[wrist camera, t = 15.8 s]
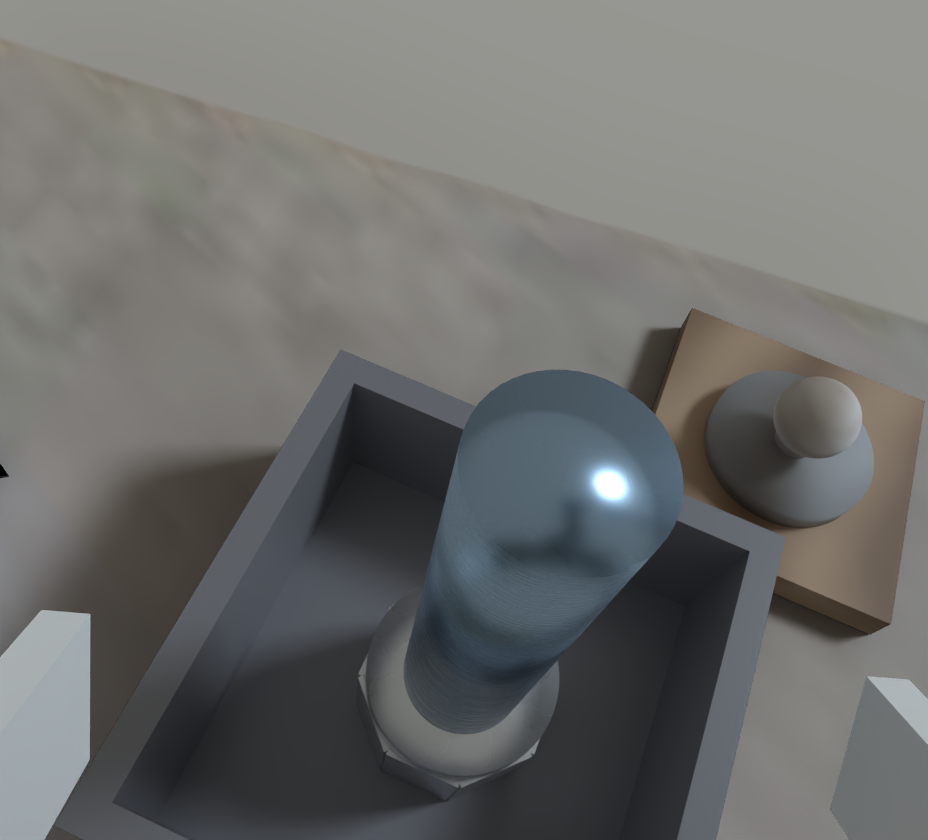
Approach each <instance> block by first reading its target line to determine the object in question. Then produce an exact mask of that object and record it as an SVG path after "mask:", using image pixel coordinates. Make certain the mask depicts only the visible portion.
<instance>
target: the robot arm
mask: <svg viewBox="0 0 928 840" xmlns="http://www.w3.org/2000/svg"><path fill="white" fill-rule="evenodd" d="M89 760H90V614H86V613H73V612H61V611H49V610H41V611H40V612H39V613H38V614H37V616H36V617H35V618H34V619H33V620H32V621H31V622H30V624H29V625H28V626H27V627H26V628H25V629H24V630H23V632H22V633H21V634H20V635H19V636H18V637H17V638H16V640H15V641H14V642H13V643H12V644H11V645H10V647H9V648H8V649H7V650H6V651H5V652H4V653H3V655H2V656H1V657H0V840H45V838H46V836H47V834H48V833H49V831H50V829H51V827H52V825H53V824H54V822H55V820H56V818H57V817H58V815H59V813H60V811H61V810H62V808H63V806H64V804H65V802H66V801H67V799H68V797H69V795H70V794H71V792H72V790H73V788H74V787H75V785H76V783H77V781H78V780H79V778H80V776H81V774H82V772H83V771H84V769H85V767H86V765H87V764H88V762H89ZM830 810H831V812H832V813H833V815H834V816H835V818H836V819H837V821H838V823H839V824H840V826H841V827H842V829H843V830H844V832H845V833H846V835H847V836H848V838H849V839H850V840H928V699H927V698H926V697H925V696H924V695H923V694H922V693H921V692H920V691H919V690H918V689H917V688H916V687H915V686H914V685H913V684H912V683H911V682H910V681H909V680H906V679H894V678H881V677H869V676H867V677H866V680H865V684H864V688H863V691H862V695H861V699H860V702H859V706H858V709H857V713H856V717H855V720H854V724H853V728H852V731H851V735H850V738H849V742H848V746H847V749H846V753H845V757H844V760H843V764H842V768H841V771H840V775H839V778H838V782H837V786H836V789H835V793H834V797H833V800H832V804H831V807H830Z"/></svg>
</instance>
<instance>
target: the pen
mask: <svg viewBox="0 0 928 840" xmlns="http://www.w3.org/2000/svg"><path fill="white" fill-rule="evenodd" d="M3 477H9V476H8V474H7V473H6V471H5V470H4V468H3V467H2V466H1V465H0V478H3Z"/></svg>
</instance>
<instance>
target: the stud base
mask: <svg viewBox="0 0 928 840" xmlns="http://www.w3.org/2000/svg"><path fill="white" fill-rule="evenodd" d="M924 403H925V401H923V400H920V399H918V398H915V397H913V396H910V395H908V394H905V393H903V392H900V391H898V390H895V389H893V388H890V387H888V386H885V385H883V384H881V383H878V382H876V381H873V380H871V379H868V378H866V377H863V376H861V375H858V374H856V373H853V372H851V371H848V370H846V369H843V368H841V367H838V366H836V365H833V364H831V363H828V362H826V361H823V360H821V359H818V358H816V357H813V356H811V355H808V354H806V353H803V352H801V351H798V350H796V349H793V348H791V347H788V346H786V345H783V344H781V343H778V342H776V341H773V340H771V339H768V338H766V337H763V336H761V335H758V334H756V333H753V332H751V331H748V330H746V329H743V328H741V327H738V326H736V325H733V324H731V323H728V322H726V321H723V320H721V319H719V318H716V317H714V316H711V315H709V314H706V313H704V312H701V311H699V310H696V309H694V308H692V309H691V311H690V313H689V314H688V316H687V318H686V320H685V321H684V323H683V325H682V326H681V329H680V332H679V335H678V337H677V340H676V343H675V346H674V349H673V352H672V355H671V357H670V360H669V363H668V366H667V369H666V372H665V375H664V377H663V380H662V383H661V386H660V389H659V392H658V395H657V397H656V400H655V403H654V406H653V409H652V412H653V413H654V414H655V415H656V416H657V418H658V419H659V420H660V421H661V422H662V424H663V425H664V427H665V429H666V430H667V432H668V433H669V435H670V437H671V439H672V441H673V443H674V445H675V447H676V450H677V453H678V456H679V459H680V463H681V468H682V472H683V486H684V487H683V494H684V495H687V496H689V497H692V498H694V499H696V500H699V501H701V502H703V503H706V504H708V505H710V506H713V507H715V508H718V509H720V510H722V511H725V512H727V513H729V514H732V515H734V516H737V517H739V518H741V519H744V520H746V521H748V522H751V523H753V524H756V525H758V526H760V527H763V528H765V529H767V530H770V531H772V532H774V533H777V534H779V535H782V536H784V537H786V538H785V543H784V547H783V551H782V556H781V560H780V564H779V569H778V573H777V577H776V581H775V586H774V590H773V593H774V594H777V595H779V596H781V597H784V598H786V599H788V600H791V601H793V602H795V603H798V604H800V605H802V606H805V607H807V608H809V609H812V610H814V611H816V612H819V613H821V614H823V615H826V616H828V617H830V618H833V619H835V620H837V621H840V622H842V623H844V624H847V625H849V626H851V627H854V628H856V629H858V630H861V631H863V632H865V633H868V634H872V633H874V632H876V631H878V630H880V629H882V628H884V627H886V626H888V625H890V624H891V620H892V613H893V607H894V600H895V594H896V587H897V580H898V574H899V567H900V561H901V554H902V548H903V541H904V535H905V528H906V521H907V515H908V508H909V502H910V495H911V489H912V482H913V476H914V469H915V462H916V456H917V449H918V443H919V436H920V430H921V423H922V417H923V410H924Z"/></svg>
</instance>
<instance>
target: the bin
mask: <svg viewBox="0 0 928 840" xmlns="http://www.w3.org/2000/svg"><path fill="white" fill-rule="evenodd" d="M475 408H476V406H473V405H471V404H469V403H466V402H464V401H462V400H459V399H457V398H454V397H452V396H450V395H447V394H445V393H443V392H440V391H438V390H435V389H433V388H431V387H428V386H426V385H424V384H421V383H419V382H417V381H414V380H412V379H409V378H407V377H405V376H402V375H400V374H398V373H395V372H393V371H390V370H388V369H386V368H383V367H381V366H379V365H376V364H374V363H371V362H369V361H367V360H364V359H362V358H360V357H357V356H355V355H353V354H350V353H348V352H345V351H343V350H340V351H339V353H338V355H337V356H336V358H335V360H334V361H333V363H332V365H331V366H330V368H329V370H328V371H327V373H326V375H325V376H324V378H323V380H322V381H321V383H320V385H319V386H318V388H317V389H316V391H315V393H314V394H313V396H312V398H311V399H310V401H309V403H308V404H307V406H306V408H305V409H304V411H303V413H302V414H301V416H300V418H299V419H298V421H297V423H296V424H295V426H294V428H293V429H292V431H291V433H290V434H289V436H288V438H287V439H286V441H285V443H284V444H283V446H282V448H281V449H280V451H279V452H278V454H277V456H276V457H275V459H274V461H273V462H272V464H271V466H270V467H269V469H268V471H267V472H266V474H265V476H264V477H263V479H262V481H261V482H260V484H259V486H258V487H257V489H256V491H255V492H254V494H253V496H252V497H251V499H250V501H249V502H248V504H247V506H246V507H245V509H244V510H243V512H242V514H241V515H240V517H239V519H238V520H237V522H236V524H235V525H234V527H233V529H232V530H231V532H230V534H229V535H228V537H227V539H226V540H225V542H224V544H223V545H222V547H221V549H220V550H219V552H218V554H217V555H216V557H215V559H214V560H213V562H212V564H211V565H210V567H209V569H208V570H207V572H206V573H205V575H204V577H203V578H202V580H201V582H200V583H199V585H198V587H197V588H196V590H195V592H194V593H193V595H192V597H191V598H190V600H189V602H188V603H187V605H186V607H185V608H184V610H183V612H182V613H181V615H180V617H179V618H178V620H177V622H176V623H175V625H174V627H173V628H172V630H171V632H170V633H169V635H168V636H167V638H166V640H165V641H164V643H163V645H162V646H161V648H160V650H159V651H158V653H157V655H156V656H155V658H154V660H153V661H152V663H151V665H150V666H149V668H148V670H147V671H146V673H145V675H144V676H143V678H142V680H141V681H140V683H139V685H138V686H137V688H136V690H135V691H134V693H133V694H132V696H131V698H130V699H129V701H128V703H127V704H126V706H125V708H124V709H123V711H122V713H121V714H120V716H119V718H118V719H117V721H116V723H115V724H114V726H113V728H112V729H111V731H110V733H109V734H108V736H107V738H106V739H105V741H104V743H103V744H102V746H101V748H100V749H99V751H98V753H97V754H96V756H95V757H94V759H93V761H92V762H91V764H90V766H89V767H88V769H87V771H86V772H85V774H84V776H83V777H82V779H81V781H80V782H79V784H78V786H77V787H76V789H75V791H74V792H73V794H72V796H71V797H70V799H69V801H68V802H67V804H66V806H65V807H64V809H63V811H62V812H61V814H60V816H59V817H58V819H57V820H56V822H55V824H54V826H56V827H58V828H60V829H62V830H64V831H66V832H68V833H70V834H72V835H74V836H76V837H78V838H80V839H82V840H716V836H717V832H718V828H719V824H720V819H721V815H722V811H723V806H724V802H725V798H726V793H727V789H728V785H729V780H730V776H731V772H732V767H733V763H734V759H735V754H736V750H737V746H738V741H739V737H740V733H741V728H742V724H743V720H744V715H745V711H746V707H747V702H748V698H749V694H750V690H751V685H752V681H753V677H754V672H755V668H756V664H757V659H758V655H759V651H760V646H761V642H762V638H763V633H764V629H765V625H766V620H767V616H768V612H769V607H770V603H771V599H772V594H773V590H774V586H775V581H776V577H777V573H778V569H779V564H780V560H781V556H782V551H783V547H784V543H785V538H786V537H784V536H782V535H779V534H777V533H774V532H772V531H770V530H767V529H765V528H763V527H760V526H758V525H756V524H753V523H751V522H748V521H746V520H744V519H741V518H739V517H737V516H734V515H732V514H729V513H727V512H725V511H722V510H720V509H718V508H715V507H713V506H710V505H708V504H706V503H703V502H701V501H699V500H696V499H694V498H692V497H689V496H687V495H684V494H683V500H682V504H681V509H680V513H679V516H678V518H677V521H676V523H675V526H674V527H673V529H672V531H671V532H670V534H669V536H668V537H667V539H666V540H665V541H664V542H663V543H662V545H661V546H660V547H659V548H658V549H657V551H656V552H655V553H654V554H653V555H652V556H651V557H650V558H649V559H648V561H647V562H646V563H645V564H644V565H643V566H642V567H641V568H640V569H639V571H638V572H637V573H636V574H635V575H634V576H633V577H632V578H631V579H630V580H629V582H628V583H627V584H626V585H625V586H624V587H623V588H622V589H621V590H620V592H619V593H618V594H617V595H616V596H615V597H614V598H613V599H612V600H611V602H610V603H609V604H608V605H607V606H606V607H605V608H604V609H603V610H602V612H601V613H600V614H599V615H598V616H597V617H596V618H595V619H594V620H593V622H592V623H591V624H590V625H589V626H588V627H587V628H586V629H585V630H584V632H583V633H582V634H581V635H580V636H579V637H578V638H577V639H576V640H575V642H574V643H573V644H572V645H571V646H570V647H569V648H568V649H567V650H566V652H565V653H564V654H563V655H562V656H561V657H560V658H559V659H558V666H559V691H558V699H557V703H556V706H555V710H554V713H553V715H552V718H551V720H550V722H549V724H548V726H547V728H546V730H545V731H544V733H543V735H542V736H541V737H540V740H539V742H538V745H537V748H536V751H535V754H534V755H533V756H532V757H531V758H530V759H529V760H527V761H526V762H525V763H523V764H522V765H521V766H519V767H518V768H517V769H515V770H514V771H513V772H511V773H510V774H508V775H506V776H503V777H501V778H499V779H496V780H494V781H492V782H490V783H487V784H485V785H483V786H481V787H478V788H476V789H474V790H471V791H469V792H467V793H465V794H462V795H460V796H458V797H456V798H453V799H451V800H449V801H447V800H445V801H443V800H441V799H438V798H436V797H434V796H432V795H430V794H428V793H426V792H423V791H421V790H419V789H417V788H415V787H413V786H411V785H408V784H406V783H404V782H402V781H400V780H398V779H396V778H393V777H391V776H389V775H387V774H385V773H383V772H381V770H382V769H379V768H378V765H377V762H376V759H375V756H374V753H373V750H372V747H371V744H370V741H369V739H368V736H367V733H366V730H365V727H364V724H363V721H362V718H361V715H360V712H359V709H358V706H357V703H356V701H357V685H358V673H359V671H360V669H361V667H362V665H363V663H364V661H365V659H366V657H367V654H368V652H369V648H370V644H371V641H372V639H373V636H374V633H375V631H376V629H377V627H378V626H379V624H380V622H381V620H382V619H383V617H384V616H385V615H386V613H387V612H388V610H389V608H390V607H392V605H393V604H395V603H396V602H397V601H398V600H400V599H401V598H402V597H404V596H405V595H406V594H407V593H409V592H411V591H412V590H414V589H416V588H417V587H420V586H422V585H424V581H425V577H426V573H427V569H428V565H429V561H430V557H431V553H432V549H433V545H434V542H435V538H436V534H437V530H438V526H439V522H440V518H441V514H442V510H443V506H444V502H445V498H446V494H447V490H448V486H449V483H450V479H451V475H452V471H453V467H454V463H455V459H456V455H457V451H458V447H459V443H460V439H461V435H462V433H463V430H464V427H465V425H466V422H467V421H468V419H469V417H470V415H471V414H472V412H473V410H474V409H475Z"/></svg>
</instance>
